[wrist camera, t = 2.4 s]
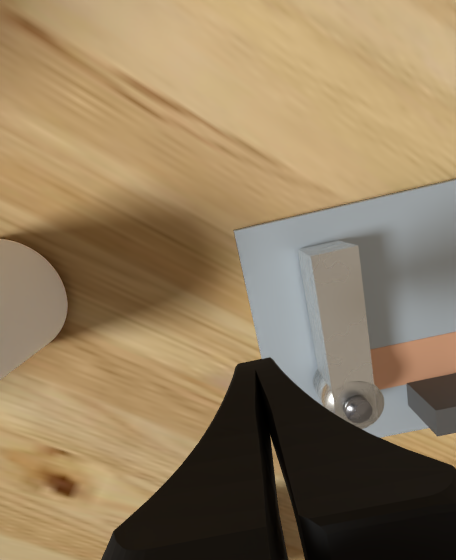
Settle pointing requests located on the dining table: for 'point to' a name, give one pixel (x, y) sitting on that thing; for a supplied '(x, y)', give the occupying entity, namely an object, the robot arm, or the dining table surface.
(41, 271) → the beverage can
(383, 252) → the latch board
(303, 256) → the latch bar
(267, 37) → the dining table surface
